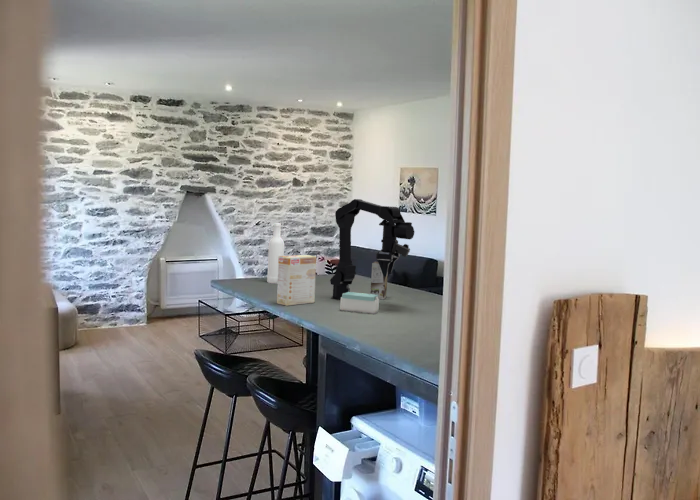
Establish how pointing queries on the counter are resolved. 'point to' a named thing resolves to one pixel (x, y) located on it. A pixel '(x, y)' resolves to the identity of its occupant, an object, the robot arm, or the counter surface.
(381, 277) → the coffee box
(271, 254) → the bottle
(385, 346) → the counter surface
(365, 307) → the tub
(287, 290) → the coffeecake box
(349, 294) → the lid
